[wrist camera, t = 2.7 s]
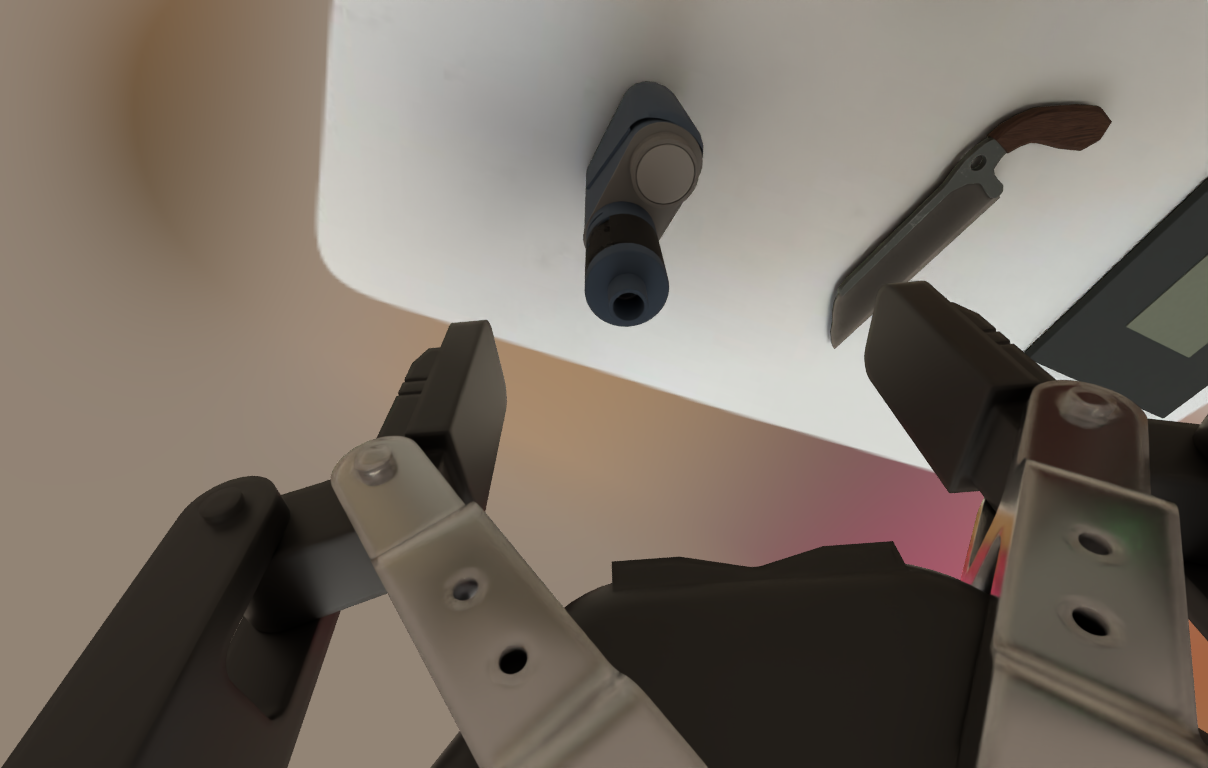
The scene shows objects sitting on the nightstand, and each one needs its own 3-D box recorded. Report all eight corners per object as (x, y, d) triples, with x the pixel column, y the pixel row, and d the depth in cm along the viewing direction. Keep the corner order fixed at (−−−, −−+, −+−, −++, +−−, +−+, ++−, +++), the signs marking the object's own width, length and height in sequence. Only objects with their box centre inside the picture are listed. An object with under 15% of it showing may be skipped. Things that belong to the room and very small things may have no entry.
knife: (1055, 61, 22) (1067, 63, 21) (1107, 122, 23) (1119, 126, 22) (795, 319, 28) (799, 326, 28) (847, 355, 30) (852, 362, 29)
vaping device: (575, 185, 24) (562, 323, 15) (635, 65, 22) (669, 138, 12) (625, 212, 25) (645, 360, 15) (690, 100, 22) (763, 195, 13)
